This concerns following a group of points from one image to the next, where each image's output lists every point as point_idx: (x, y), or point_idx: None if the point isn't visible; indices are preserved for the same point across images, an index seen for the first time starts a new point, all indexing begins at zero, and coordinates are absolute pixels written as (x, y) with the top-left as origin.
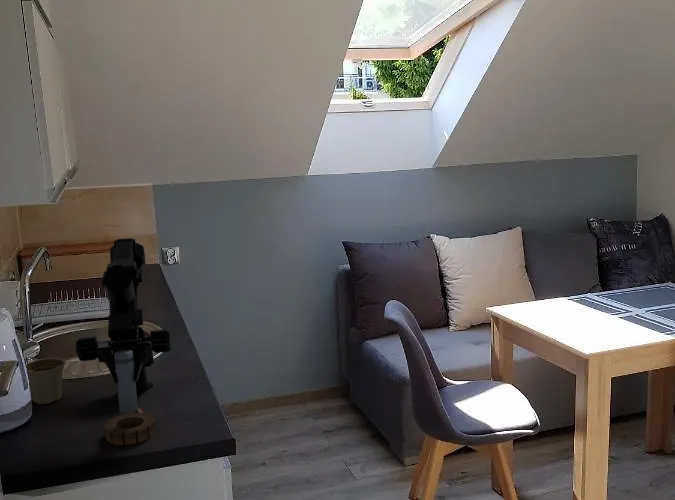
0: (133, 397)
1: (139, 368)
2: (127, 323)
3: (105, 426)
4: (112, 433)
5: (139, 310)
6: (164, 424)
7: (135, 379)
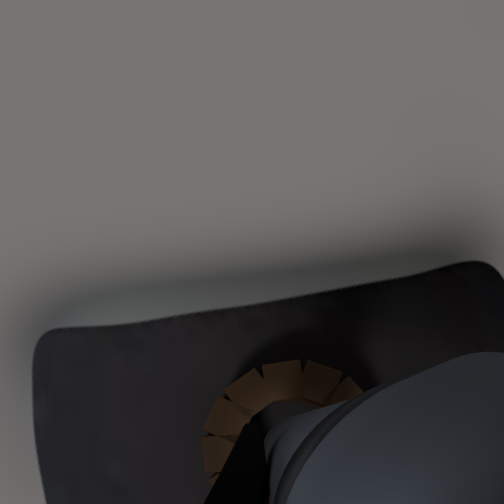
0: (275, 429)
1: (213, 490)
2: None
3: None
4: (340, 371)
5: None
6: (185, 486)
7: (253, 423)
